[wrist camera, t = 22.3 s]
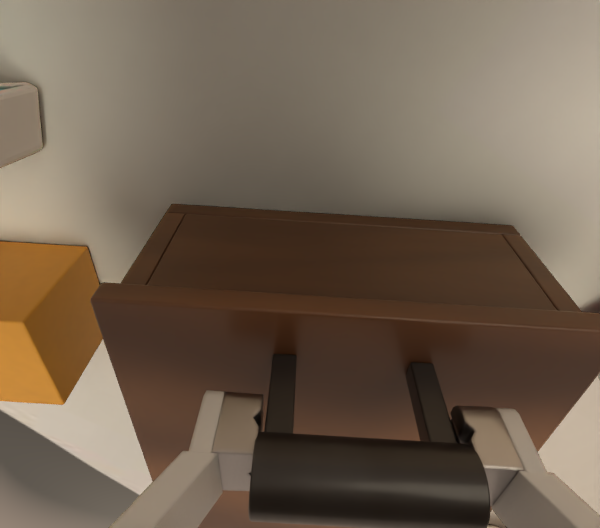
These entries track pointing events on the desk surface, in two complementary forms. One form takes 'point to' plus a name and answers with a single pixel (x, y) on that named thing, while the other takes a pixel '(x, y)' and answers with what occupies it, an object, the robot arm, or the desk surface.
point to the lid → (343, 394)
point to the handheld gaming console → (19, 122)
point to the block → (45, 320)
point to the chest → (346, 258)
